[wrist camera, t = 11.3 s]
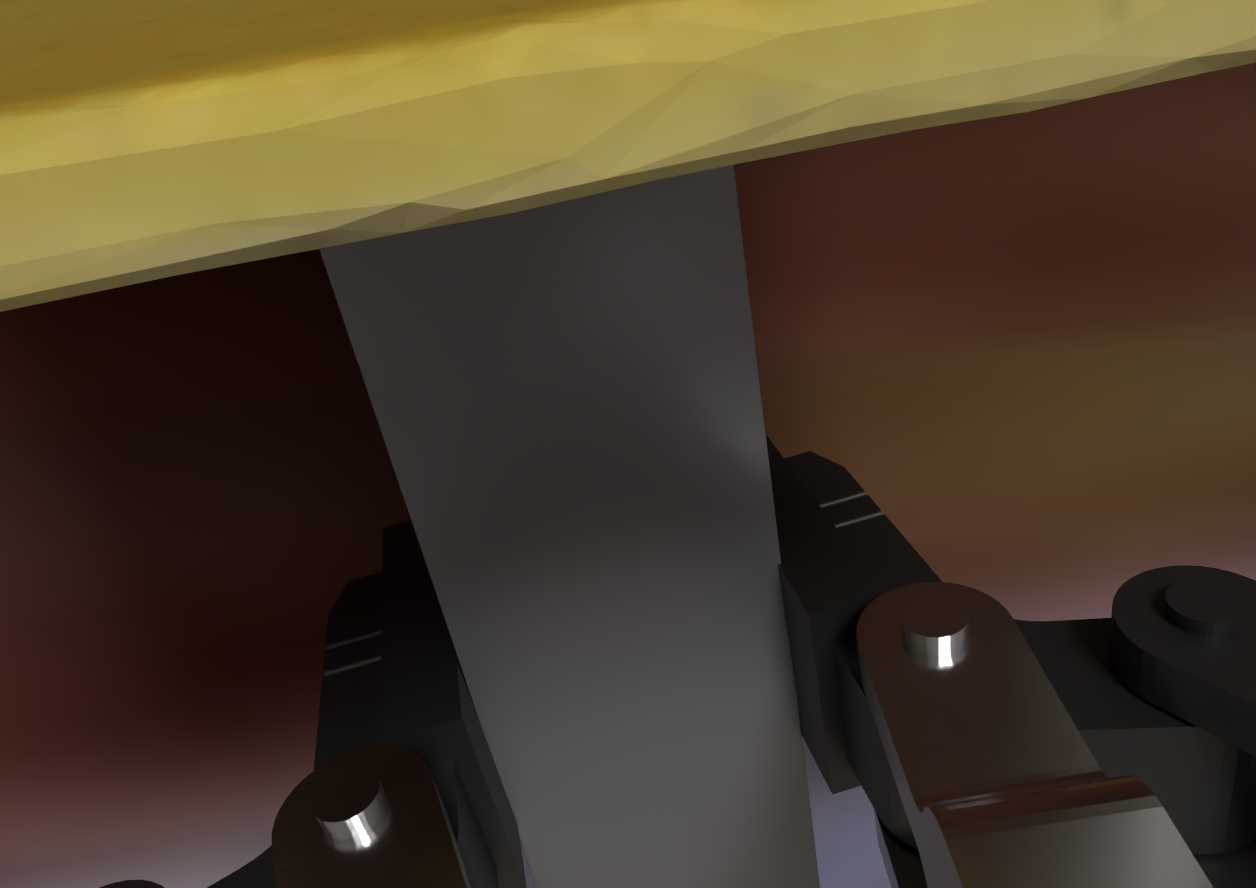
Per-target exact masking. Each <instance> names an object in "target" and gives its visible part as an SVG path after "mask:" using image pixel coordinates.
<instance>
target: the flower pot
mask: <svg viewBox="0 0 1256 888" xmlns="http://www.w3.org/2000/svg"><path fill="white" fill-rule="evenodd" d="M1255 62H1256V0H0V312H2V311H7V310H11V309H16V308H21V307H26V306H31V305H36V304H40V303H45V302H50V301H55V300H60V299H65V298H69V297H74V296H79V295H84V294H89V293H94V292H98V291H103V290H108V289H113V288H118V287H123V286H127V285H132V284H137V283H142V282H147V281H151V280H156V279H161V278H166V277H171V276H176V275H181V274H186V273H191V272H197V271H202V270H208V269H213V268H218V267H224V266H229V265H235V264H240V263H245V262H251V261H256V260H262V259H267V258H272V257H278V256H283V255H289V254H294V253H299V252H305V251H310V250H315V249H320V248H326V247H331V246H336V245H341V244H347V243H352V242H357V241H362V240H368V239H373V238H378V237H383V236H389V235H394V234H399V233H404V232H410V231H415V230H421V229H427V228H432V227H438V226H443V225H449V224H454V223H460V222H465V221H471V220H477V219H482V218H488V217H493V216H499V215H504V214H510V213H515V212H519V211H524V210H528V209H532V208H537V207H541V206H545V205H550V204H554V203H559V202H563V201H567V200H572V199H576V198H580V197H585V196H589V195H593V194H598V193H602V192H606V191H611V190H615V189H620V188H624V187H628V186H633V185H637V184H641V183H646V182H650V181H654V180H659V179H663V178H668V177H673V176H678V175H684V174H689V173H694V172H699V171H704V170H709V169H714V168H719V167H724V166H729V165H734V164H739V163H744V162H749V161H754V160H759V159H765V158H770V157H775V156H780V155H785V154H790V153H795V152H800V151H805V150H810V149H815V148H820V147H826V146H831V145H836V144H842V143H847V142H852V141H857V140H863V139H868V138H873V137H878V136H884V135H889V134H894V133H899V132H905V131H910V130H915V129H920V128H927V127H933V126H940V125H946V124H952V123H959V122H965V121H972V120H978V119H985V118H991V117H997V116H1004V115H1010V114H1017V113H1023V112H1029V111H1033V110H1038V109H1042V108H1046V107H1051V106H1055V105H1060V104H1064V103H1068V102H1073V101H1077V100H1081V99H1086V98H1090V97H1095V96H1099V95H1104V94H1109V93H1113V92H1118V91H1123V90H1127V89H1132V88H1137V87H1141V86H1146V85H1150V84H1155V83H1160V82H1164V81H1169V80H1174V79H1178V78H1183V77H1188V76H1192V75H1197V74H1201V73H1206V72H1211V71H1215V70H1220V69H1225V68H1230V67H1235V66H1240V65H1245V64H1250V63H1255Z"/></svg>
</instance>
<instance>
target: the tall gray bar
mask: <svg viewBox="0 0 1256 888" xmlns="http://www.w3.org/2000/svg"><path fill="white" fill-rule="evenodd" d="M319 250H320V253H321V256H322V258H323V261H324V264H325V267H326V270H327V273H328V276H329V279H330V282H331V285H332V288H333V291H334V294H335V297H336V300H337V303H338V306H339V308H340V311H341V314H342V317H343V320H344V323H345V326H346V329H347V332H348V335H349V338H350V341H351V344H352V347H353V350H354V353H355V356H356V359H357V361H358V364H359V367H360V370H361V373H362V376H363V379H364V382H365V385H366V388H367V391H368V394H369V397H370V400H371V403H372V406H373V409H374V412H375V414H376V417H377V420H378V423H379V426H380V429H381V432H382V435H383V438H384V441H385V444H386V447H387V450H388V453H389V456H390V459H391V462H392V465H393V467H394V470H395V473H396V476H397V479H398V482H399V485H400V488H401V491H402V494H403V497H404V500H405V503H406V506H407V509H408V512H409V515H410V518H411V520H412V523H413V526H414V529H415V532H416V535H417V538H418V541H419V544H420V547H421V550H422V553H423V556H424V559H425V562H426V565H427V568H428V570H429V573H430V576H431V579H432V582H433V585H434V588H435V591H436V594H437V597H438V600H439V603H440V606H441V609H442V612H443V615H444V618H445V621H446V623H447V626H448V629H449V632H450V635H451V638H452V641H453V644H454V647H455V650H456V653H457V656H458V659H459V662H460V665H461V668H462V671H463V674H464V676H465V679H466V682H467V685H468V688H469V691H470V694H471V697H472V700H473V703H474V706H475V709H476V712H477V715H478V718H479V721H480V724H481V726H482V729H483V732H484V735H485V737H486V740H487V743H488V745H489V748H490V751H491V754H492V756H493V759H494V762H495V765H496V767H497V770H498V773H499V775H500V778H501V781H502V784H503V786H504V789H505V792H506V794H507V797H508V800H509V803H510V805H511V808H512V811H513V813H514V816H515V819H516V822H517V824H518V831H519V838H520V841H521V844H522V847H523V850H524V853H525V856H526V859H527V862H528V865H529V868H530V871H531V874H532V877H533V880H534V883H535V885H536V888H820V885H819V877H818V868H817V860H816V852H815V843H814V835H813V827H812V818H811V810H810V801H809V793H808V785H807V776H806V768H805V760H804V751H803V743H802V734H801V726H800V718H799V709H798V701H797V693H796V687H795V680H794V673H793V666H792V659H791V652H790V645H789V638H788V631H787V624H786V617H785V610H784V603H783V596H782V589H781V583H780V576H779V569H778V565H779V564H781V558H780V550H779V542H778V533H777V525H776V517H775V508H774V500H773V491H772V483H771V475H770V466H769V458H768V450H767V441H766V433H765V424H764V416H763V408H762V399H761V391H760V383H759V374H758V366H757V357H756V349H755V341H754V332H753V324H752V316H751V307H750V299H749V290H748V282H747V274H746V265H745V257H744V249H743V240H742V232H741V223H740V215H739V207H738V198H737V190H736V182H735V173H734V165H729V166H724V167H719V168H714V169H709V170H704V171H699V172H694V173H689V174H684V175H678V176H673V177H668V178H663V179H659V180H654V181H650V182H646V183H641V184H637V185H633V186H628V187H624V188H620V189H615V190H611V191H606V192H602V193H598V194H593V195H589V196H585V197H580V198H576V199H572V200H567V201H563V202H559V203H554V204H550V205H545V206H541V207H537V208H532V209H528V210H524V211H519V212H515V213H510V214H504V215H499V216H493V217H488V218H482V219H477V220H471V221H465V222H460V223H454V224H449V225H443V226H438V227H432V228H427V229H421V230H415V231H410V232H404V233H399V234H394V235H389V236H383V237H378V238H373V239H368V240H362V241H357V242H352V243H347V244H341V245H336V246H331V247H326V248H320V249H319Z"/></svg>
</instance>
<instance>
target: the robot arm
mask: <svg viewBox="0 0 1256 888" xmlns="http://www.w3.org/2000/svg"><path fill="white" fill-rule="evenodd" d="M766 441H767V450H768V458H769V466H770V475H771V483H772V491H773V500H774V508H775V517H776V525H777V533H778V542H779V550H780V558H781V564H779V565H778V569H779V576H780V583H781V589H782V596H783V603H784V610H785V617H786V624H787V631H788V638H789V645H790V652H791V659H792V666H793V673H794V680H795V687H796V693H797V701H798V709H799V718H800V726H801V734H802V736H803V738H804V740H805V742H806V744H807V746H808V748H809V749H810V751H811V753H812V755H813V757H814V759H815V761H816V763H817V765H818V767H819V769H820V771H821V773H822V775H823V777H824V779H825V781H826V783H827V784H828V786H829V788H830V790H831V792H832V794H835V793H838V792H842V791H845V790H848V789H851V788H854V787H857V786H860V785H862V787H863V789H864V791H865V793H866V794H867V796H868V798H869V800H870V802H871V803H872V805H873V807H874V811H875V821H876V831H877V838H878V843H879V847H880V851H881V854H882V857H883V861H884V864H885V867H886V870H887V874H888V877H889V880H890V884H891V887H892V888H1256V581H1255V580H1253V579H1250V578H1247V577H1245V576H1242V575H1239V574H1236V573H1233V572H1229V571H1225V570H1220V569H1216V568H1209V567H1202V566H1168V567H1162V568H1156V569H1153V570H1149V571H1145V572H1143V573H1141V574H1138V575H1136V576H1134V577H1132V578H1131V579H1129V580H1128V581H1126V582H1125V583H1124V584H1123V585H1122V586H1121V587H1120V588H1119V589H1118V591H1117V593H1116V594H1115V596H1114V600H1113V604H1112V618H1101V619H1083V620H1065V621H1023V620H1015V619H1013V617H1012V616H1011V615H1010V613H1009V612H1008V611H1007V609H1006V608H1005V607H1003V606H1002V605H1001V604H1000V603H999V602H998V601H996V600H995V599H993V598H992V597H990V596H989V595H987V594H985V593H983V592H981V591H978V590H976V589H973V588H970V587H967V586H963V585H958V584H953V583H944V582H942V581H941V580H940V579H939V577H938V576H937V575H936V574H935V573H934V572H933V570H932V569H931V568H930V567H929V566H928V564H927V563H926V562H925V561H924V560H923V559H922V557H921V556H920V555H919V554H918V553H917V552H916V550H915V549H914V548H913V547H912V546H911V545H910V543H909V542H908V541H907V540H906V539H905V538H904V536H903V535H902V534H901V533H900V532H899V531H898V529H897V528H896V527H895V526H894V525H893V524H892V522H891V521H890V520H889V519H888V518H887V517H886V515H882V513H881V510H880V508H879V507H878V506H877V505H876V504H875V503H874V501H873V500H872V499H871V498H870V497H869V496H868V495H867V496H866V495H865V492H864V490H863V489H862V487H861V486H860V485H859V484H858V483H857V482H856V480H855V479H854V478H853V477H852V476H851V475H850V473H849V472H848V471H847V470H846V469H845V468H844V467H843V466H841V465H839V464H837V463H834V462H832V461H830V460H828V459H826V458H824V457H821V456H819V455H817V454H815V453H813V452H811V451H809V452H806V453H802V454H799V455H795V456H792V457H788V458H785V459H784V458H783V457H782V455H781V454H780V453H779V451H778V450H777V449H776V447H775V446H774V445H773V443H772V442H771V441H770V439H769V438H768V437H767V435H766ZM326 647H327V651H325V658H324V669H323V672H324V675H325V677H324V678H323V679H322V690H321V700H320V711H319V721H318V731H317V742H316V752H315V763H314V771H313V772H312V773H311V774H309V775H308V776H307V777H305V778H304V779H303V780H302V781H301V782H300V783H299V784H298V785H297V786H296V787H295V788H294V790H293V791H292V792H291V793H290V795H289V796H288V797H287V798H286V800H285V802H284V803H283V805H282V806H281V808H280V810H279V812H278V814H277V817H276V819H275V822H274V826H273V830H272V845H271V846H270V847H269V848H268V849H267V850H266V851H264V852H263V853H262V854H261V855H259V856H258V857H257V858H255V859H254V860H253V861H251V862H250V863H248V864H246V865H245V866H243V867H242V868H240V869H239V870H237V871H235V872H233V873H232V874H230V875H228V876H226V877H225V878H223V879H221V880H220V881H218V882H216V883H214V884H213V885H211V886H209V887H207V888H526V881H525V874H524V866H523V859H522V852H521V845H520V838H519V831H518V824H517V822H516V819H515V816H514V813H513V811H512V808H511V805H510V803H509V800H508V797H507V794H506V792H505V789H504V786H503V784H502V781H501V778H500V775H499V773H498V770H497V767H496V765H495V762H494V759H493V756H492V754H491V751H490V748H489V745H488V743H487V740H486V737H485V735H484V732H483V729H482V726H481V724H480V721H479V718H478V715H477V712H476V709H475V706H474V703H473V700H472V697H471V694H470V691H469V688H468V685H467V682H466V679H465V676H464V674H463V671H462V668H461V665H460V662H459V659H458V656H457V653H456V650H455V647H454V644H453V641H452V638H451V635H450V632H449V629H448V626H447V623H446V621H445V618H444V615H443V612H442V609H441V606H440V603H439V600H438V597H437V594H436V591H435V588H434V585H433V582H432V579H431V576H430V573H429V570H428V568H427V565H426V562H425V559H424V556H423V553H422V550H421V547H420V544H419V541H418V538H417V535H416V532H415V529H414V526H413V523H412V520H409V521H405V522H402V523H398V524H395V525H391V526H387V527H385V528H384V530H383V569H382V572H380V573H376V574H373V575H369V576H365V577H362V578H358V579H355V580H351V581H349V583H348V584H347V586H346V587H345V589H344V590H343V592H342V593H341V595H340V597H339V598H338V600H337V601H336V603H335V604H334V606H333V608H332V609H331V611H330V612H329V617H328V627H327V637H326ZM100 888H164V887H163V886H161V885H159V884H157V883H154V882H151V881H145V880H126V881H121V882H116V883H112V884H109V885H106V886H103V887H100Z"/></svg>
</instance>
